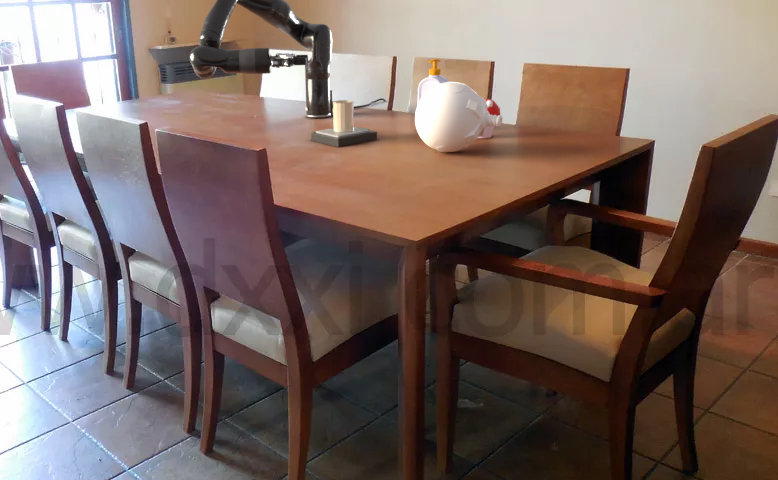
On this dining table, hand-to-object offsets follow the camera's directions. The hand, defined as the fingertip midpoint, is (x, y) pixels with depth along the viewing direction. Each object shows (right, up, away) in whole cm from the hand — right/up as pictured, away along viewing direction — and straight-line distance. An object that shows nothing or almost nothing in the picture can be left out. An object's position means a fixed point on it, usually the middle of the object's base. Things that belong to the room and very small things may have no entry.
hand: (307, 59), depth 210 cm
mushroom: (+56, -22, +8) cm, 61 cm away
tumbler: (+12, -20, +8) cm, 25 cm away
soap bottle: (+42, -18, +20) cm, 50 cm away
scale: (+12, -23, +9) cm, 27 cm away
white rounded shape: (+44, -31, -11) cm, 55 cm away
